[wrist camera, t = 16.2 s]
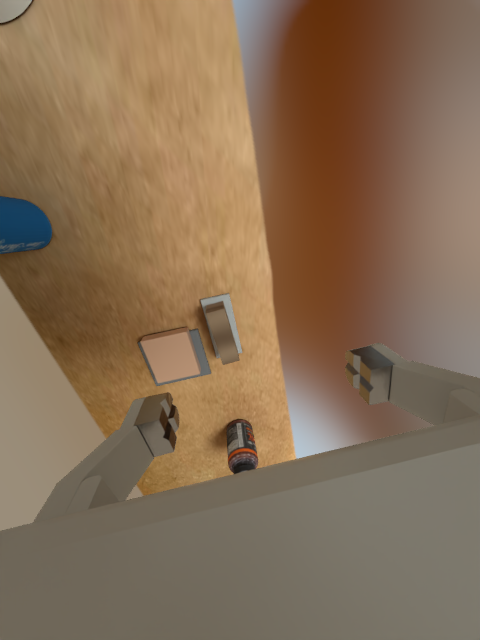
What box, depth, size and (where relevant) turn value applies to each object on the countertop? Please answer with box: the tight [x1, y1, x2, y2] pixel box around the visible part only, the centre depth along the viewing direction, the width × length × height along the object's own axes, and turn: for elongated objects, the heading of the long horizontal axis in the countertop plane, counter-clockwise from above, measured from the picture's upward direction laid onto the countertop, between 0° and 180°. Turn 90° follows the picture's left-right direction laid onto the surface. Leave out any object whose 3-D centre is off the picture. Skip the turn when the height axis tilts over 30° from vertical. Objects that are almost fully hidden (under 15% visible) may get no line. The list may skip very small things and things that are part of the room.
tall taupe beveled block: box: [206, 301, 239, 365], centre depth 38 cm, size 10×3×4 cm, turn 14°
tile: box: [140, 327, 201, 383], centre depth 40 cm, size 2×8×9 cm
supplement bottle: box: [227, 420, 258, 474], centre depth 46 cm, size 6×6×11 cm
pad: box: [201, 293, 242, 358], centre depth 40 cm, size 12×5×1 cm, turn 11°
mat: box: [138, 329, 211, 386], centre depth 42 cm, size 10×11×1 cm
